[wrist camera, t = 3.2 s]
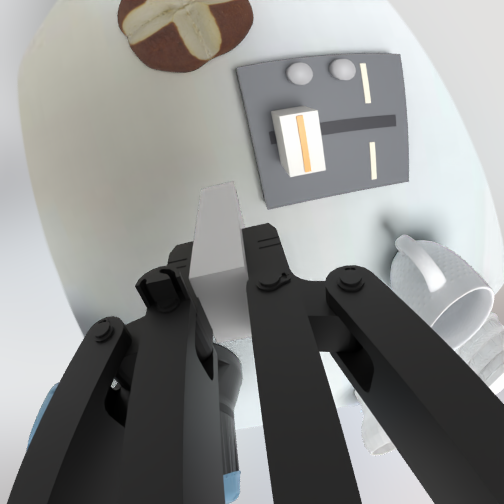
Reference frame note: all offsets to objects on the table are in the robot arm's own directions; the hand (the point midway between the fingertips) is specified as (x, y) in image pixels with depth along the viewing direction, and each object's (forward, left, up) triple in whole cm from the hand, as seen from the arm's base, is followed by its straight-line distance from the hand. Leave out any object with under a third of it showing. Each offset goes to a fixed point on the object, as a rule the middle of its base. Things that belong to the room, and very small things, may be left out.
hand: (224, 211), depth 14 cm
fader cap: (+6, 0, -14) cm, 15 cm away
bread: (0, +13, -17) cm, 21 cm away
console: (+11, 0, -16) cm, 19 cm away
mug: (+21, -19, -16) cm, 33 cm away
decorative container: (+35, -35, -16) cm, 52 cm away
